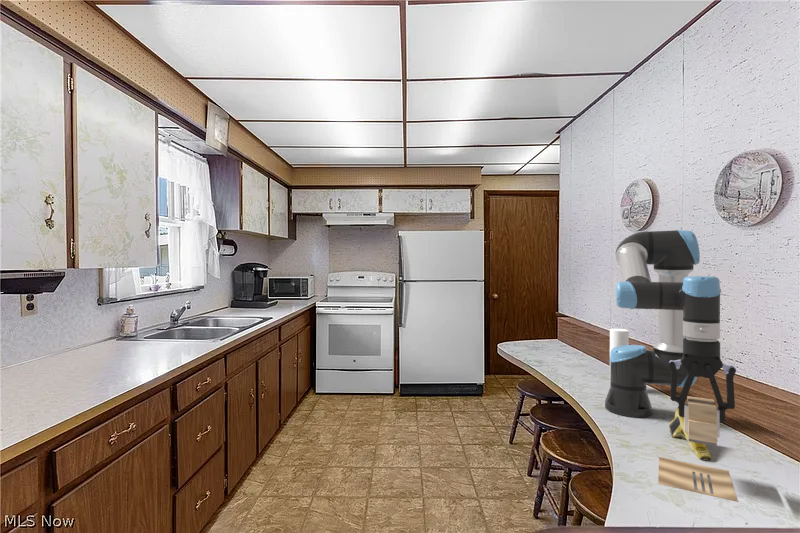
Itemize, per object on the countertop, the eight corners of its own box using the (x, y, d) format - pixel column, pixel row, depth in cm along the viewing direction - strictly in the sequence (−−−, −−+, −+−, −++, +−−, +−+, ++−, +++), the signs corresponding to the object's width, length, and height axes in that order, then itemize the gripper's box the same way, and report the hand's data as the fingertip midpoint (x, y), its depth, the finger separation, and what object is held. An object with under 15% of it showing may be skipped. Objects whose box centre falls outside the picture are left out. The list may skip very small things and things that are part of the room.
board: (658, 462, 116) (658, 456, 116) (728, 476, 108) (728, 470, 108) (658, 489, 102) (658, 483, 102) (737, 508, 94) (737, 501, 94)
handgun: (676, 426, 134) (684, 400, 128) (701, 484, 119) (712, 457, 112) (667, 426, 135) (675, 400, 129) (691, 483, 119) (701, 457, 113)
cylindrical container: (631, 389, 181) (631, 330, 180) (623, 392, 176) (623, 331, 176) (615, 385, 186) (614, 328, 186) (606, 388, 182) (606, 329, 182)
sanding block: (687, 430, 110) (687, 395, 110) (713, 434, 108) (713, 398, 107) (688, 441, 104) (688, 404, 104) (716, 446, 101) (716, 408, 101)
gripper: (657, 337, 107) (657, 430, 107) (752, 344, 97) (752, 446, 98) (657, 333, 113) (657, 420, 114) (746, 339, 104) (746, 435, 104)
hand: (701, 432), depth 106 cm, fingers closed on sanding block, 5 cm apart
